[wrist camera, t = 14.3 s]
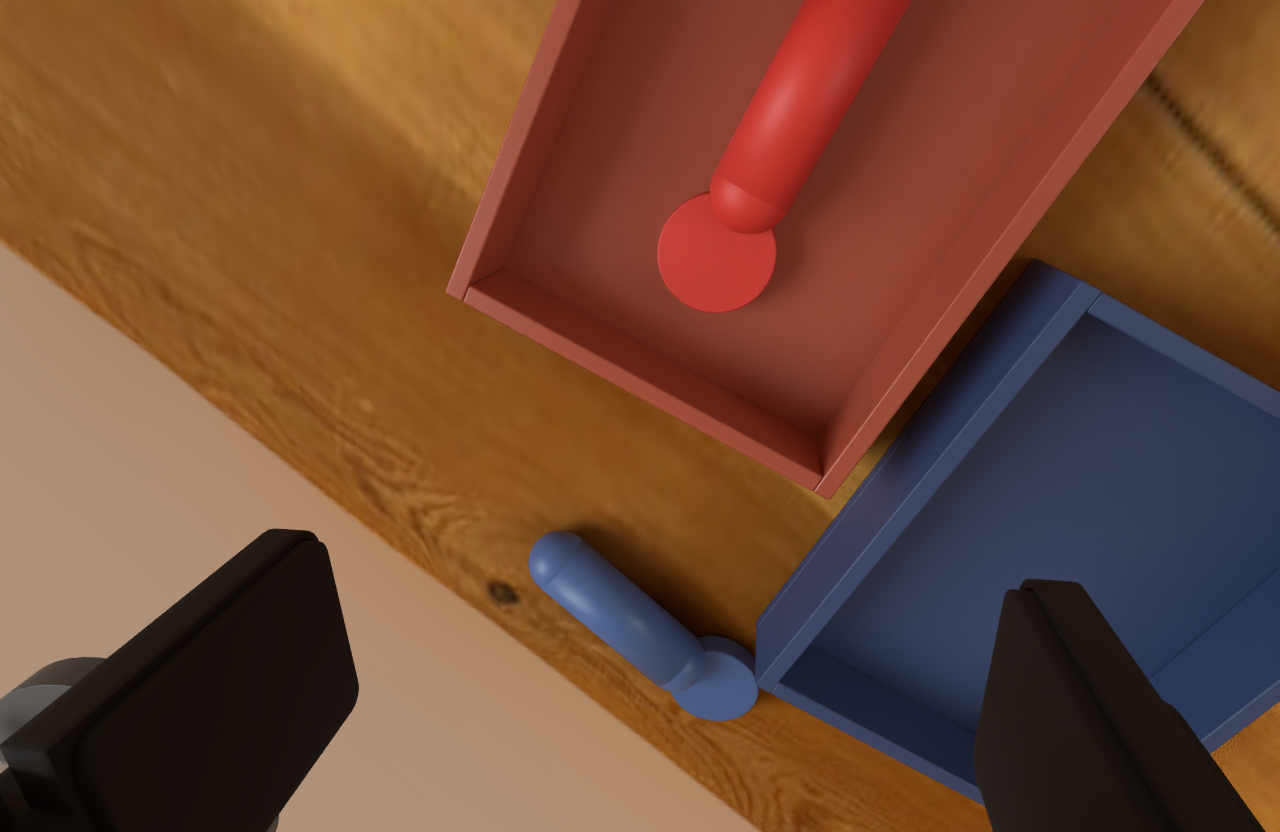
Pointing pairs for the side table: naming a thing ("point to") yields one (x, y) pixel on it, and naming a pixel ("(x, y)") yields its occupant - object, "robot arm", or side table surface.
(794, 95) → the red spoon
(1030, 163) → the red bin
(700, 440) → the side table surface
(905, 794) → the side table surface
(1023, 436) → the blue bin
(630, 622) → the blue spoon
